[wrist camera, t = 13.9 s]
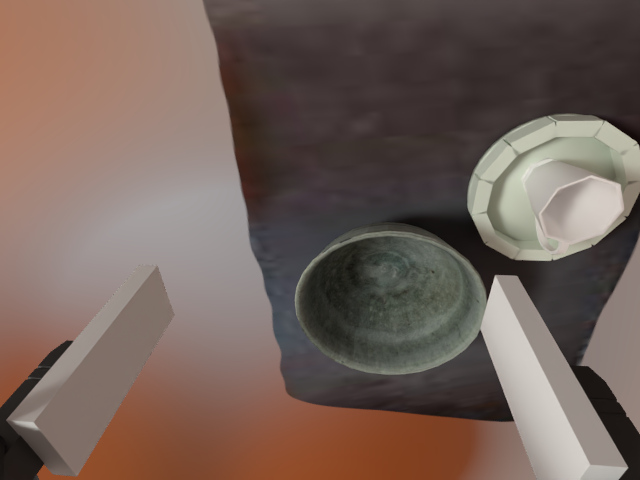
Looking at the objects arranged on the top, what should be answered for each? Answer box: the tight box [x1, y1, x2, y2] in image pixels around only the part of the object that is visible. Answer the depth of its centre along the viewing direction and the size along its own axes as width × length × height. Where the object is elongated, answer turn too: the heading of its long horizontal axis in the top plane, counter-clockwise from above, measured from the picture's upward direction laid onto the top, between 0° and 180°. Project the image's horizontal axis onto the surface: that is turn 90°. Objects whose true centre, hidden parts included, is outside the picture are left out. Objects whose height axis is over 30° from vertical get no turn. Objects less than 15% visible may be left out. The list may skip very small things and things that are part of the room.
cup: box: [521, 157, 624, 254], centre depth 37 cm, size 7×10×8 cm
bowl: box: [295, 222, 487, 374], centre depth 44 cm, size 21×21×10 cm
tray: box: [467, 113, 640, 261], centre depth 39 cm, size 16×16×3 cm
